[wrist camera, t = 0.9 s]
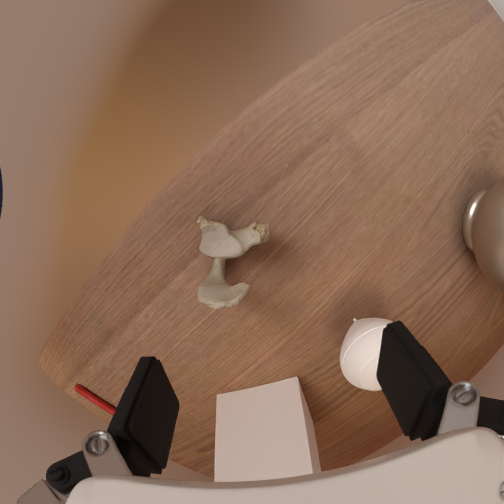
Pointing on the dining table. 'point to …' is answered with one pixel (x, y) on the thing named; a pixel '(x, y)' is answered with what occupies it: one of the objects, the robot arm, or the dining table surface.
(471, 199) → the teapot
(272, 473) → the milk
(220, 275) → the bone
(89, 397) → the red toy shovel
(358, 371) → the spinning top
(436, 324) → the dining table surface
